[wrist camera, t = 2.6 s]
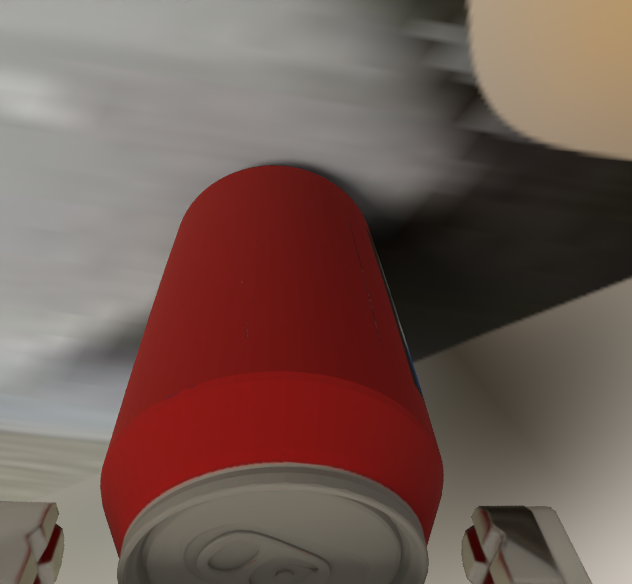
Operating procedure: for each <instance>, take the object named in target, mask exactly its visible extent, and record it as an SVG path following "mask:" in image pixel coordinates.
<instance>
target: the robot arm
mask: <svg viewBox="0 0 632 584" xmlns="http://www.w3.org/2000/svg"><path fill="white" fill-rule="evenodd" d="M58 515H59V512H58V508H57V505H56V503H54V502H52V503H51V502H13V501H0V584H53V583H54V582H55V581H56V579H57V576H58V573H59V570H60V567H61V562H62V557H63V551H64V534H63V529H62V528H61V527H60V526H58V525H57V524H56V520H57V518H58ZM472 520H473V523H474V525H473V526H471V527H470V528H469V529H467V530H466V531H465V534H464V537H463V539H462V561H463V567H464V570H465V573H466V577H467V579H468V580H469V581H470V582H471V583H472V584H592V582H591V580H590V578H589V576H588V574H587V572H586V570H585V568H584V566H583V565H582V563H581V561H580V559H579V557H578V555H577V553H576V551H575V549H574V547H573V545H572V543H571V541H570V539H569V537H568V535H567V533H566V531H565V529H564V527H563V525H562V523H561V521H560V519H559V517H558V515H557V514H556V512H555V511H554V510H553V509H552V508H551V507H546V506H535V507H525V506H479V507H477V508H476V509H475V510H474V512H473V514H472Z"/></svg>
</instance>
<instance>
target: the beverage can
mask: <svg viewBox="0 0 632 584" xmlns="http://www.w3.org/2000/svg"><path fill="white" fill-rule="evenodd" d="M100 488H101V497H102V504H103V509H104V512H105V516H106V519H107V522H108V525H109V528H110V531H111V535H112V538H113V541H114V544H115V547H116V550H117V553H118V557H119V563H118V570H117V579H118V584H424V582H425V579H426V576H427V573H428V565H429V564H428V563H429V561H428V553H427V544H428V541H429V537H430V534H431V530H432V527H433V524H434V520H435V517H436V513H437V510H438V507H439V503H440V499H441V496H442V489H443V464H442V459H441V455H440V452H439V449H438V445H437V442H436V438H435V435H434V432H433V428H432V425H431V422H430V418H429V415H428V412H427V408H426V405H425V402H424V399H423V395H422V392H421V389H420V385H419V382H418V379H417V375H416V372H415V369H414V366H413V362H412V359H411V356H410V353H409V350H408V346H407V343H406V340H405V337H404V334H403V330H402V327H401V324H400V321H399V318H398V315H397V311H396V308H395V305H394V302H393V299H392V296H391V293H390V290H389V287H388V284H387V281H386V278H385V275H384V272H383V269H382V265H381V263H380V260H379V257H378V254H377V251H376V248H375V245H374V242H373V239H372V237H371V234H370V231H369V228H368V225H367V223H366V220H365V218H364V216H363V214H362V213H361V211H360V209H359V208H358V206H357V205H356V204H355V203H354V201H353V200H352V199H351V198H350V197H349V196H348V195H347V194H346V193H345V192H344V191H343V190H342V189H341V188H339V187H338V186H336V185H335V184H334V183H332V182H331V181H329V180H327V179H325V178H324V177H321V176H319V175H317V174H315V173H312V172H310V171H307V170H303V169H299V168H294V167H289V166H274V165H271V166H259V167H252V168H248V169H244V170H241V171H238V172H235V173H232V174H230V175H228V176H226V177H224V178H222V179H220V180H218V181H217V182H215V183H214V184H212V185H211V186H209V187H208V188H207V189H206V190H204V191H203V192H202V193H201V194H200V195H199V196H198V197H197V198H196V199H195V201H194V202H193V203H192V204H191V206H190V207H189V209H188V210H187V212H186V214H185V216H184V217H183V220H182V222H181V224H180V227H179V230H178V233H177V236H176V239H175V242H174V244H173V247H172V250H171V253H170V256H169V259H168V261H167V264H166V267H165V270H164V273H163V277H162V280H161V283H160V286H159V289H158V292H157V295H156V298H155V301H154V304H153V307H152V310H151V313H150V316H149V319H148V322H147V325H146V329H145V332H144V335H143V338H142V341H141V344H140V347H139V351H138V354H137V357H136V360H135V363H134V366H133V369H132V373H131V376H130V379H129V382H128V385H127V389H126V392H125V395H124V398H123V402H122V405H121V408H120V412H119V415H118V418H117V421H116V425H115V428H114V431H113V435H112V438H111V441H110V444H109V448H108V451H107V454H106V458H105V461H104V464H103V467H102V473H101V485H100Z"/></svg>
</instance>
